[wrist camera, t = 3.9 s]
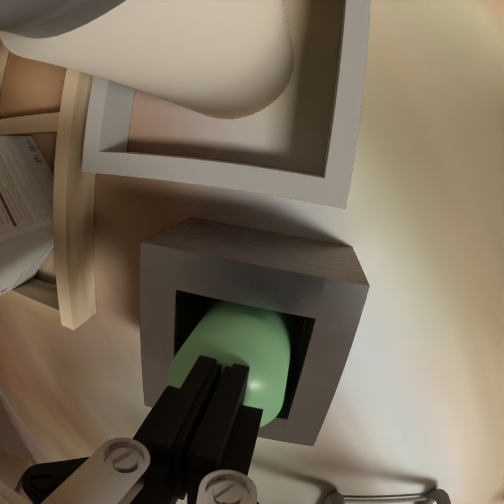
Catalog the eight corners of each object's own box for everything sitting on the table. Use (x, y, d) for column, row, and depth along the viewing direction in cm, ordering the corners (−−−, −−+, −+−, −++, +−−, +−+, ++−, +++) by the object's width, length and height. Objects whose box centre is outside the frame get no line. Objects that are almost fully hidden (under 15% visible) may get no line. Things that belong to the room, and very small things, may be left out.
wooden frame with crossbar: (19, -2, 14) (-2, -9, 11) (140, -45, 12) (121, -63, 10) (-8, 272, 20) (-29, 281, 18) (96, 312, 19) (73, 330, 16)
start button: (219, 268, 15) (168, 328, 10) (302, 284, 15) (295, 357, 9) (212, 339, 17) (168, 414, 11) (287, 355, 16) (272, 440, 10)
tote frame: (146, -25, 12) (126, -43, 10) (365, -22, 11) (371, -46, 8) (109, 169, 16) (81, 172, 14) (340, 201, 14) (345, 208, 12)
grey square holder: (189, 218, 16) (140, 242, 11) (352, 247, 15) (369, 285, 10) (181, 352, 18) (144, 405, 13) (316, 381, 17) (313, 446, 12)
